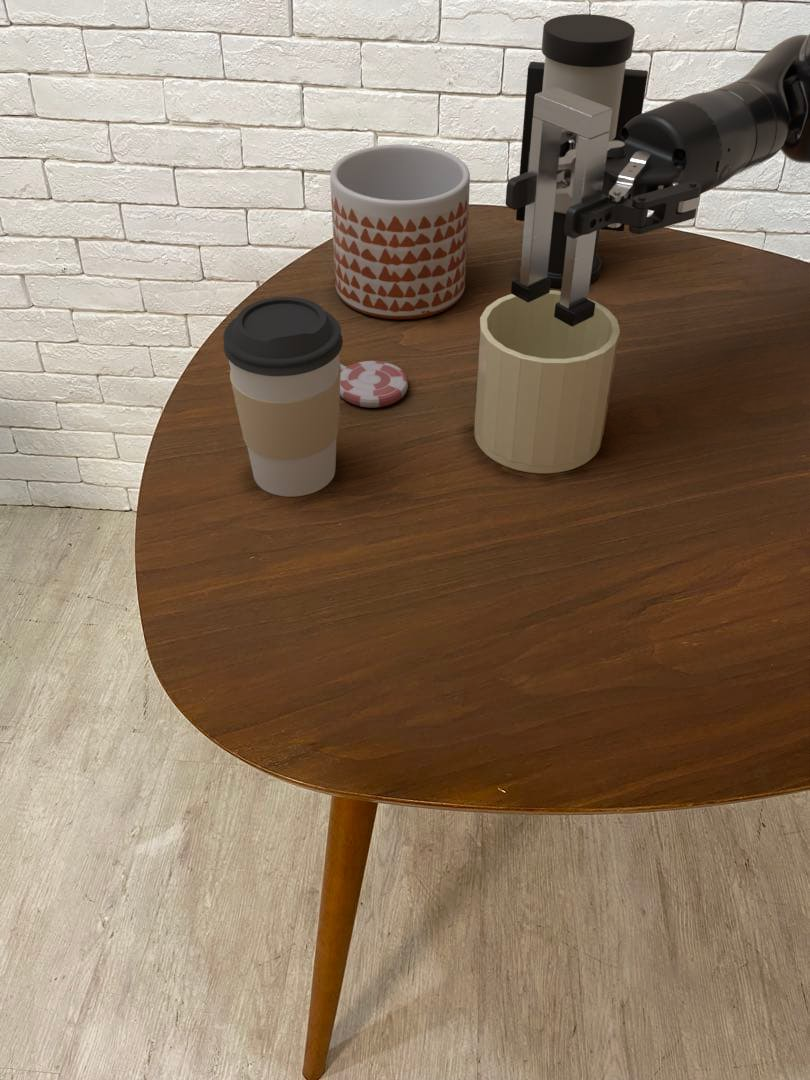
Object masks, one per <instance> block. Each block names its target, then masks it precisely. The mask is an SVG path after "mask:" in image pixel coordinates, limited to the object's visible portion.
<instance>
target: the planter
mask: <svg viewBox="0 0 810 1080" xmlns="http://www.w3.org/2000/svg"><path fill="white" fill-rule="evenodd" d="M329 174H330V175H329V182H330V199H331V200H330V201H331V220H332V222H331V223H332V242H333V261H334V262H333V263H334V265H333V266H334V283H335V290H336V293H337V295H338V297H339V298H340V300H341V301H342V302H343V303H344V304H345V305H347V306H348V307H350V308H351V309H352V310H355V311H357V312H358V313H361V314H364V315H367V316H371V317H374V318H379V319H385V320H397V321H398V320H399V321H400V320H415V319H422V318H426V317H431V316H434V315H437V314H440V313H442V312H444V311H446V310H448V309H450V308H452V306H454V305H455V304H456V303H458V302H459V300H460V299H461V298H462V296H463V294H464V292H465V288H466V274H467V255H468V254H467V252H468V233H469V229H468V228H469V208H470V207H469V206H470V189H471V188H470V187H471V186H470V185H471V173H470V170H469V167H468V166H467V165H466V163H464V162H463V160H462V159H460V158H459V157H457V156H455V155H454V154H452V153H450V152H448V151H445V150H442V149H439V148H436V147H431V146H426V145H417V144H401V143H400V144H398V143H397V144H383V145H376V146H375V145H374V146H370V147H365V148H362V149H359V150H355V151H353V152H351V153H348V154H346V155H344V156H343V157H341V158H340V159H339V160H337V161H336V162H335V164H333V166H332V167H331V170H330V173H329Z"/></svg>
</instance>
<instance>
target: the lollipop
mask: <svg viewBox="0 0 810 1080" xmlns="http://www.w3.org/2000/svg"><path fill="white" fill-rule="evenodd" d="M339 364H340V367H341V376H340V397H341V399H344V400H345V401H346V402H347V403H349V404H351V405H352V406H353V405H354V406H357V407H361V408H370V409H371V408H383V407H385V406H386V407H387V406H390V405H393V404H394V403H397V402H398V401H400V400H401V399H402V398H403V397H404V396H405V395H406V393H407V390H408V388H409V380H408V376H407V375H406V373H405V371H403V369H401V368H400V367H398V366H397V365H396V364H393V363H390V362H387V361H382V360H365V361H364V360H363V361H359V362H356V363H353V364H351V365H348V366H346V365H343V364H342V363H340V362H339Z"/></svg>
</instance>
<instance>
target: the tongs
mask: <svg viewBox="0 0 810 1080" xmlns="http://www.w3.org/2000/svg"><path fill="white" fill-rule="evenodd" d="M612 111H613V109H612V108H610V107H607V106H604V105H602V104H599V103H597V102H594V101H591V100H589V99H586V98H583V97H581V96H578V95H575V94H573V93H570V92H567V91H565V90H562V89H560V88H557V87H555V88H552V89H549V90H546V91H543V92H540V93H537V94H535V98H534V111H533V120H532V133H531V145H530V157H529V170H528V183H527V196H526V207H525V219H524V221H523V232H522V233H523V234H522V245H521V257H520V268H519V269H520V271H519V276H518V277H517V278H514V279H512V280H511V286H510V287H511V288H510V294H513V295H515V296H517V297H518V298H520V299H522V300H524V301H526V302H528V303H529V302H531V301H533V300H535V299H537V298H539V297H541V296H544V295H546V294H548V293H549V292H550V290H551V287H550V283H551V280H550V279H548V278H547V274H548V264H549V254H550V244H551V234H552V224H553V214H554V204H555V194H556V184H557V174H558V164H559V154H560V145H561V135H562V129H565V130H567V131H570V132H572V133H575V134H577V135H579V136H578V144H577V153H576V162H575V171H574V180H573V189H572V198H571V206H573V205H575V204H578V203H580V202H583V201H585V200H588V199H590V198H593V197H595V196H597V195H600V194H602V187H603V180H604V172H605V165H606V157H607V150H608V142H609V134H610V132H609V131H610V126H611V118H612ZM571 206H570V207H571ZM596 233H597V231H594V232H592V233H590V234H586V235H581V236H579V237H577V238H575V239H573V238H571V237H569V236H567V242H566V251H565V260H564V269H563V278H562V287H561V288H560V291H561V296H560V302H558V303H556V304H555V313H554V317H555V318H557V319H559V320H561V321H562V322H564V323H566V324H568V325H570V326H572V327H573V326H575V325H577V324H579V323H581V322H583V321H585V320H587V319H589V318H591V317H593V316H594V311H595V303H594V302H592V301H590V300H588V298H589V292H590V285H591V283H590V278H591V271H592V263H593V256H594V248H595V241H596Z"/></svg>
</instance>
